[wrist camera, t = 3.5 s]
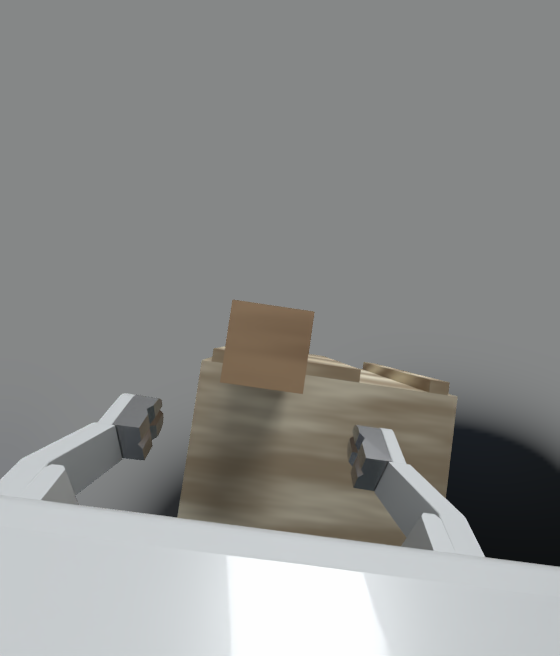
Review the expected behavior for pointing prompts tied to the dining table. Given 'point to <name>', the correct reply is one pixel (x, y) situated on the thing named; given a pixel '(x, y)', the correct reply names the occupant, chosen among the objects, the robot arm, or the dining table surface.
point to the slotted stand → (309, 448)
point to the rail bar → (267, 347)
